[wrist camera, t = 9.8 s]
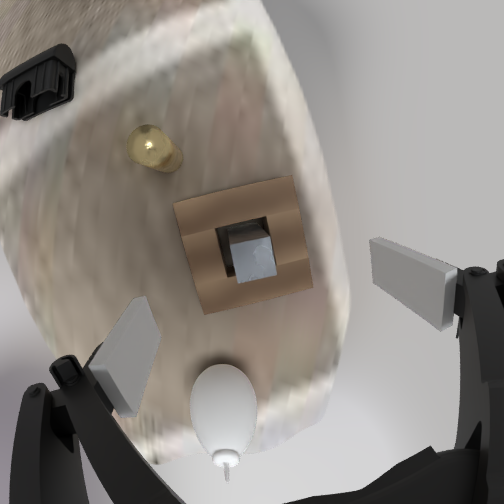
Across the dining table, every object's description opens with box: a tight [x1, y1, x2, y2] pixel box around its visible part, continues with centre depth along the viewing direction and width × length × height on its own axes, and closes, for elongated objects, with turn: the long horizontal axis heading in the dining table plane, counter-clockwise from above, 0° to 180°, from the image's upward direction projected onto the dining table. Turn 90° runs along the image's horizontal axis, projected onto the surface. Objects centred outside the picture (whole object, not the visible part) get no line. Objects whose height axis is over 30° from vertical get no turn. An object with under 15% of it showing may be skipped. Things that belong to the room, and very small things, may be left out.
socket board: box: [173, 175, 313, 315], centre depth 30 cm, size 12×12×4 cm
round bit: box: [126, 125, 183, 173], centre depth 24 cm, size 3×3×10 cm
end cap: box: [0, 44, 75, 121], centre depth 21 cm, size 10×7×7 cm
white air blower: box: [190, 364, 257, 483], centre depth 27 cm, size 8×8×18 cm
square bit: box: [227, 222, 277, 283], centre depth 27 cm, size 3×3×10 cm
